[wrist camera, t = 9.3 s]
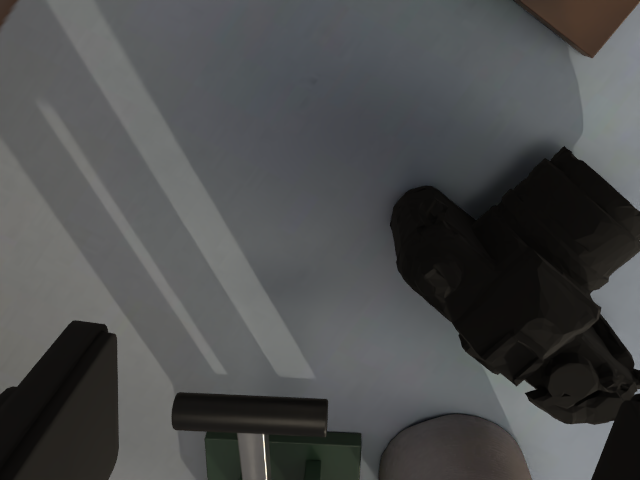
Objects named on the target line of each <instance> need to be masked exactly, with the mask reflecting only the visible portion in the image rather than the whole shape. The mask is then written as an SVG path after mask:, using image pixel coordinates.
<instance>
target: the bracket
mask: <svg viewBox="0 0 640 480" xmlns="http://www.w3.org/2000/svg"><path fill="white" fill-rule="evenodd" d="M205 449H206V463H207V477H208V480H242V472H241V463H240V455H239V446H238V437H237V433H226V432H207V433H206V436H205ZM269 450H270V465H271V480H359V477H360V460H361V434H358V433H337V432H327V435H326V437H309V436H288V435H269Z"/></svg>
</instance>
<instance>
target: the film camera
mask: <svg viewBox="0 0 640 480" xmlns="http://www.w3.org/2000/svg"><path fill="white" fill-rule="evenodd" d="M502 200H503V201H502V202H501V203H500V204H499V205H498V206H492V207H491V208H490V210H489V211H487V212H486V213H485V214H484V215H482V216H481V217H480V218H479V219H478V220H475V219H473V218H472V217H471V216H469V215H468V214H467V213H465V212H464V211H463V210H461V209H460V208H459V207H458V206H457V205H455V204H454V203H453V202H452V201H450V200H449V199H448V198H447V197H446V196H445V195H444V194H442V193H441V192H440V191H438V190H437V189H435V188H434V187H432V186H422V187H418V188H415V189H411V190H409V191H408V192H406V193H405V194H404V195H403V196H402V198H401V199H400V200H399V201H398V202H397V203H396V204H395V206H394V208H393V214H392V218H391V223H390V226H391V229H392V233H393V238H394V243H395V250H396V256H397V262H396V263H397V268H398V271H399V273H400V274H401V275H402V277H403V279H404V280H405V282H406V283H407V284H408V285H409V286H410V287H411V288H412V289H413V290H414V291H415V292H417V293H418V294H419V295H420V296H422V297H423V298H424V299H425V300H426V301H427V302H428V303H429V304H430V305H432V306H433V307H434V308H435V309H436V310H438V311H439V312H440V313H441V314H442V315H443V316H444V317H445V318H447V319H448V320H449V321H450V322H452V324H453V325H454V327H455V329H456V330H457V331H458V332H459V333H460V334H459V338H460V340H461V344H462V347H463V349H464V350H465V352H467V353H468V354H469V355H471V356H472V357H473V358H474V359H476V360H477V361H478V362H480V363H481V364H482V365H483V366H485V367H486V368H487V369H488V370H490V371H491V372H492V373H494V374H497V375H498V374H499V373H501V374H502V375H503V376H505V377H506V378H507V379H508V380H510V381H511V382H512V383H513V384H514V385H516V386H518V385H519V384H520V383H521V382H522V381H523V380H525V381H526V382H527V383H529V384H530V385H531V386H533V387H534V388H535V389H537V390H533V391H530V392H527V393H525V394H526V395H527V397H528V399H529V401H530V402H532V403H533V404H534V405H535V406H537V407H538V408H540V409H542V410H543V411H545V412H547V413H548V414H550V415H551V416H552V417H553V418H555V419H557V420H558V421H562V422H563V423H566V424H577V423H589V424H594V425H596V424H601V423H607V422H609V421H614V420H615V418H616V416H617V413H618V411H619V408H620V406H621V404H622V403H623V402H624V401H626V400H630V399H631V398H632V397H633V396H634V393H635V392H636V391H637V389H640V370H637V369H634V361H633V358H632V355H631V354H630V352H629V351H628V350H627V348H626V347H625V346H624V344H623V343H622V342H621V340H620V339H619V338H618V336H617V335H616V334H615V332H614V331H613V329H612V328H611V327H610V325H609V324H608V323H607V321H606V320H605V319H604V318H603V316H602V315H601V314H600V312H601V307H600V306H598V305H597V304H596V303H594V302H593V300H592V298H591V296H590V293H591V292H592V291H593V290H597V289H599V288H601V287H602V286H603V285H605V284H606V283H607V282H608V280H609V276H610V275H611V274H612V273H613V272H614V271H615V270H617V269H618V268H619V267H621V266H622V265H623V264H625V263H626V262H627V261H629V260H630V259H631V258H632V257H633V256H635V255H636V254H637V253H638V252H639V251H640V241H639V240H640V211H638V210H637V209H635V208H634V207H633V206H632V205H631V204H630V202H629V201H628V200H626V199H625V198H624V197H623V196H622V195H621V194H619V193H618V192H617V191H616V190H615V189H614V188H613V187H612V186H611V185H610V184H609V183H608V182H607V181H605V180H604V179H603V178H602V177H601V176H600V175H599V174H598V173H596V172H595V171H594V170H593V169H591V168H590V167H589V166H588V165H587V164H586V163H585V162H584V161H581V160H578V159H577V158H576V157H575V156H574V155H573V154H572V152H571V151H570V150H568V149H567V148H566V147H565V146H564V147H562V149H561V150H560V151H559V152H558V153H557V154H555V155H554V157H553V158H552V159H551V161H549V160H547V159H544V160H543V161H542V162H541V163H539V164H538V165H537V166H536V167H535V168H534V169H533V170H532V171H531V172H530V174H529V176H528V177H527V178H526V179H525V180H524V181H521V182H520V184H519V185H518V186H516V188H515V189H514V190H513V189H510V190H509V191H508V192H507V193H506V194H505V195H504V196H503V197H502Z"/></svg>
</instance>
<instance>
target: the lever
mask: <svg viewBox="0 0 640 480" xmlns="http://www.w3.org/2000/svg"><path fill="white" fill-rule="evenodd" d="M327 420H328V400H327V399H313V398H291V397H270V396H248V395H226V394H204V393H182V392H180V393H178V394H177V395H176V397H175V399H174V403H173V408H172V426H173V428H174V429H175V430H184V431H205V432H226V433H237V437H238V446H239V455H240V463H241V472H242V480H271V465H270V450H269V435H288V436H309V437H326V435H327Z"/></svg>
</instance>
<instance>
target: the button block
mask: <svg viewBox="0 0 640 480" xmlns="http://www.w3.org/2000/svg"><path fill="white" fill-rule="evenodd" d="M513 1H515V2H516V3H517V4H519V5H520V6H521V7H522V8H524V9H525V10H526V11H527V12H529V13H530V14H531V15H533V16H534V17H535V18H536V19H538V20H539V21H540V22H541V23H543V24H544V25H545V26H547V27H548V28H549V29H550V30H552V31H553V32H554V33H556V34H557V35H558V36H559V37H561V38H562V39H563V40H564V41H566V42H567V43H568V44H570V45H571V46H572V47H573V48H575V49H576V50H577V51H578V52H580V53H581V54H582V55H584V56H587V57H590V58H593V57H594V56H595V55H596V54H597V52H598V51H599V50H600V49H601V48H602V46H603V45H604V44H605V43H606V42H607V40H608V39H609V38H610V37H611V36H612V34H613V33H614V32H615V31H616V30H617V28H618V27H619V26H620V25H621V24H622V23H623V21H624V20H625V19H626V18H627V17H628V15H629V14H630V13H631V12H632V11H633V9H634V8H635V7H636V6H637V5H638V3H639V2H640V0H513Z"/></svg>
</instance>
